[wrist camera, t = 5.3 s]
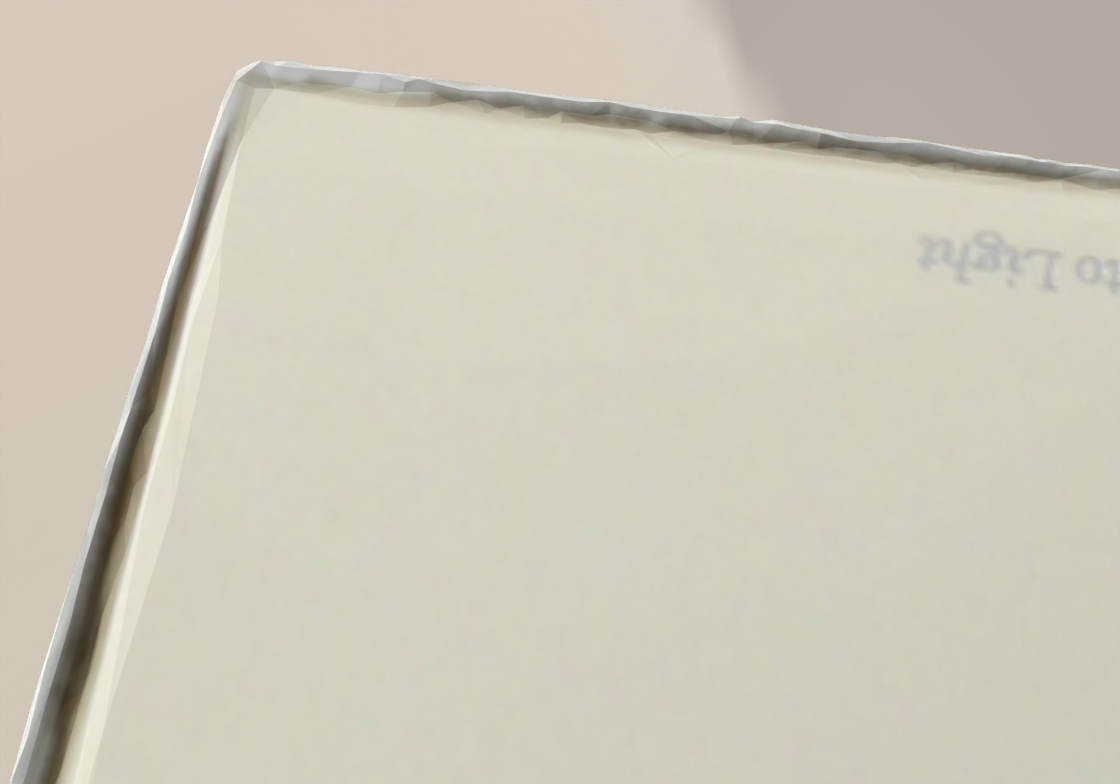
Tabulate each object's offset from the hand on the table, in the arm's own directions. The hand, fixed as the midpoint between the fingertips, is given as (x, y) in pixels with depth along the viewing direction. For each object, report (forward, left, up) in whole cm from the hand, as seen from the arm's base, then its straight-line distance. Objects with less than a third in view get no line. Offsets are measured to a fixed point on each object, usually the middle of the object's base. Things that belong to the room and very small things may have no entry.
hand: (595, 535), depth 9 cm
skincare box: (-1, +1, -7) cm, 7 cm away
